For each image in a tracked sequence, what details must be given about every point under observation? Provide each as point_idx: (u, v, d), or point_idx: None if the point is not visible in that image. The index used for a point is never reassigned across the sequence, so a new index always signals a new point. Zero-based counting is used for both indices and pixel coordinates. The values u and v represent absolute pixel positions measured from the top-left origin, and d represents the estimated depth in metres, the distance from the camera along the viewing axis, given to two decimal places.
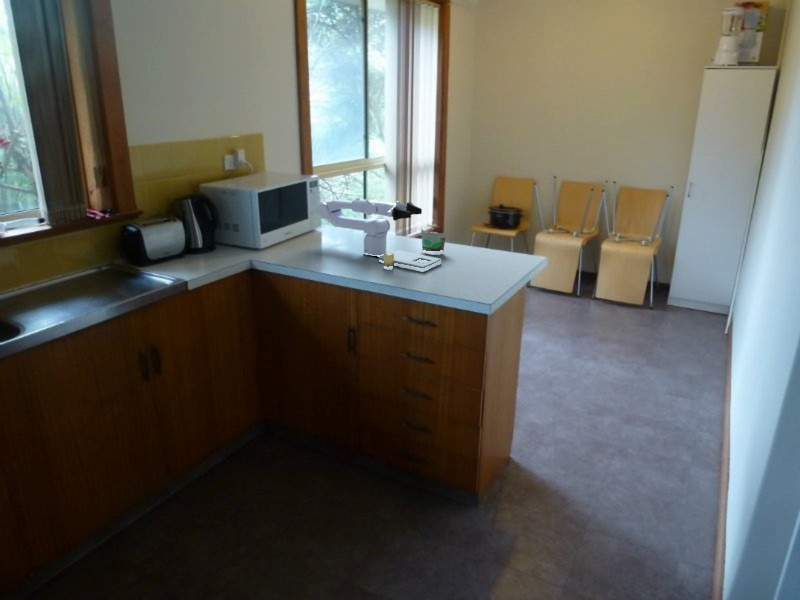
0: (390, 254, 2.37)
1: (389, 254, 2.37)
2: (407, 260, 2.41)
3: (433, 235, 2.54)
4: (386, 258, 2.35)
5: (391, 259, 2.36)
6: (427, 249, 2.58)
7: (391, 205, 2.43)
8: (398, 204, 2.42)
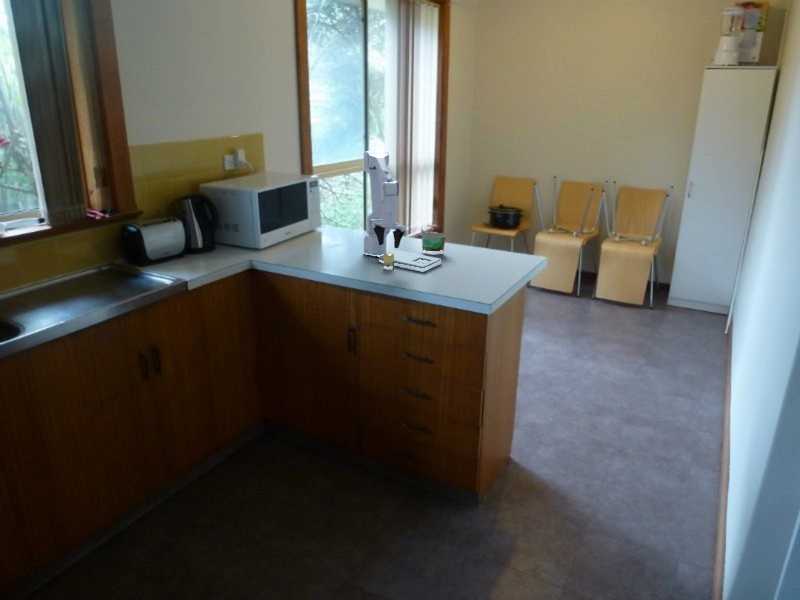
0: (390, 254, 2.37)
1: (389, 254, 2.37)
2: (407, 260, 2.41)
3: (433, 235, 2.54)
4: (386, 258, 2.35)
5: (391, 259, 2.36)
6: (427, 249, 2.58)
7: (382, 219, 2.31)
8: (384, 226, 2.31)
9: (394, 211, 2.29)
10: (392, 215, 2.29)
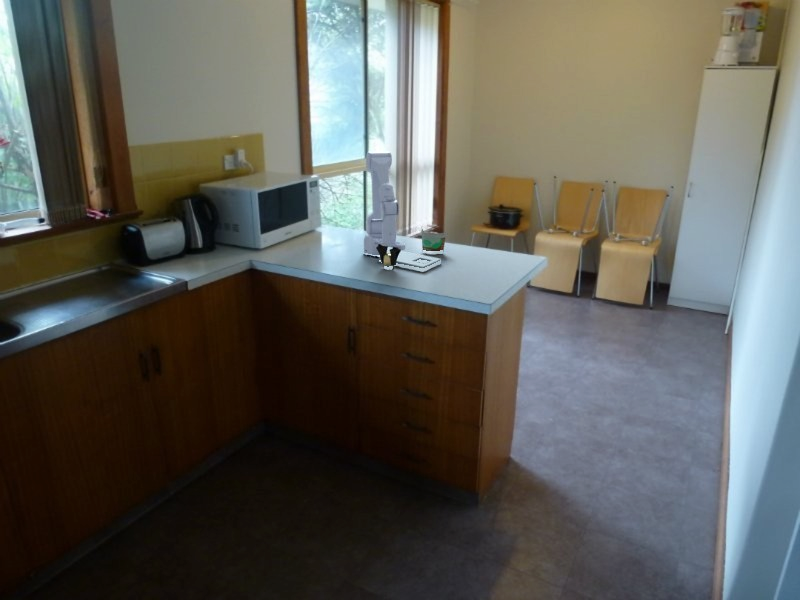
0: (390, 254, 2.37)
1: (389, 254, 2.37)
2: (407, 260, 2.41)
3: (433, 235, 2.54)
4: (386, 258, 2.35)
5: None
6: (427, 249, 2.58)
7: (382, 238, 2.33)
8: None
9: (394, 230, 2.31)
10: (392, 234, 2.31)
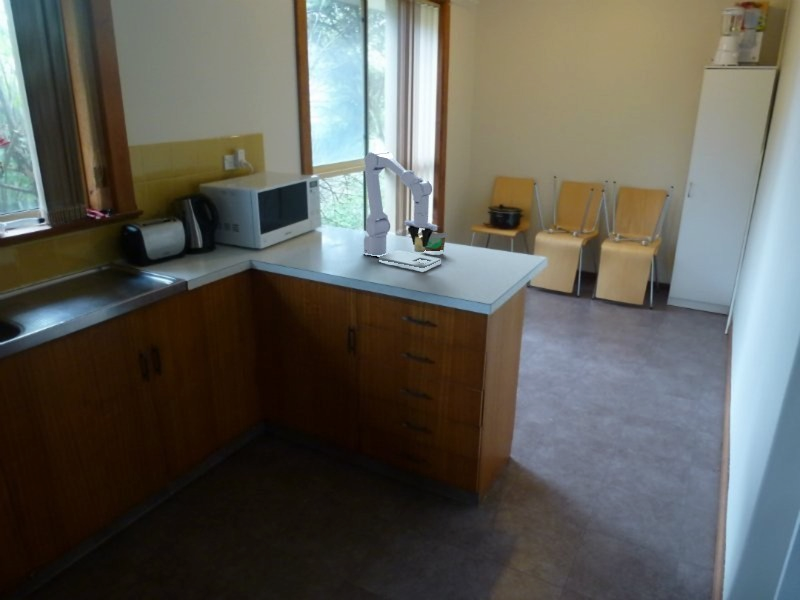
0: (421, 236, 2.37)
1: (421, 236, 2.38)
2: (407, 260, 2.41)
3: (433, 235, 2.54)
4: (417, 240, 2.36)
5: (422, 241, 2.36)
6: (427, 249, 2.58)
7: (414, 219, 2.34)
8: None
9: None
10: (424, 215, 2.32)
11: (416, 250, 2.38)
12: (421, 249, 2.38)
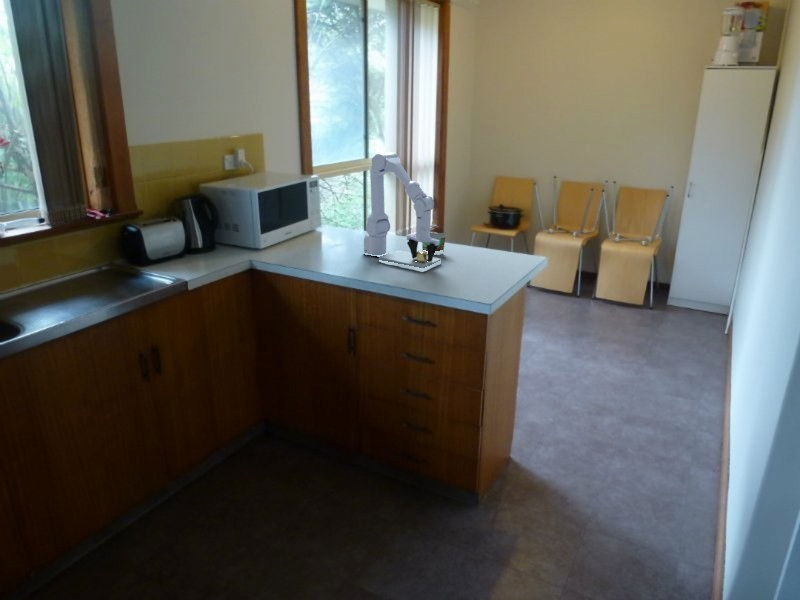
0: (423, 252, 2.40)
1: (423, 252, 2.40)
2: (407, 260, 2.41)
3: (433, 235, 2.54)
4: (419, 256, 2.39)
5: (424, 257, 2.39)
6: None
7: (416, 233, 2.37)
8: (418, 240, 2.37)
9: None
10: (426, 230, 2.35)
11: None
12: None
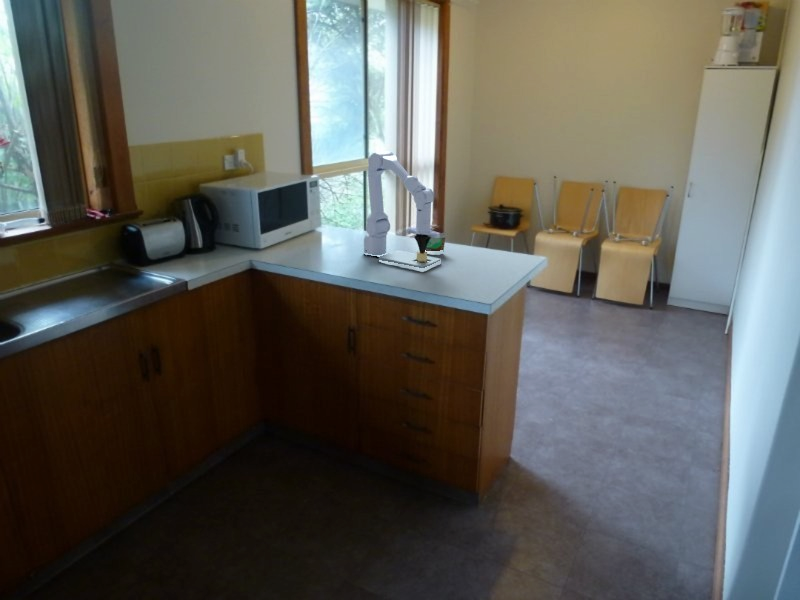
0: None
1: None
2: (407, 260, 2.41)
3: None
4: (419, 256, 2.39)
5: (424, 257, 2.39)
6: (427, 249, 2.58)
7: (416, 226, 2.36)
8: (418, 233, 2.36)
9: (430, 218, 2.35)
10: (426, 222, 2.34)
11: None
12: None
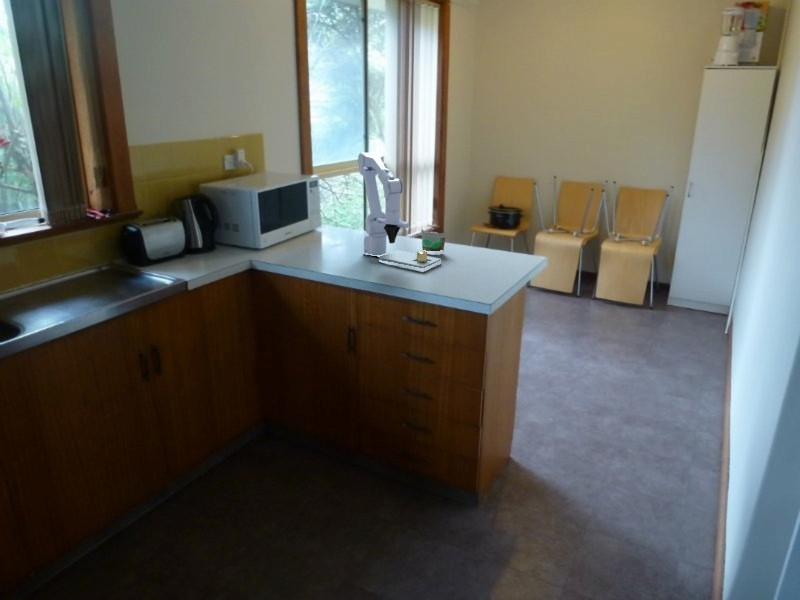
0: (423, 252, 2.40)
1: (423, 252, 2.40)
2: (407, 260, 2.41)
3: (433, 235, 2.54)
4: (419, 256, 2.39)
5: (424, 257, 2.39)
6: (427, 249, 2.58)
7: (385, 216, 2.36)
8: (387, 223, 2.36)
9: (398, 208, 2.34)
10: (395, 212, 2.34)
11: None
12: None
